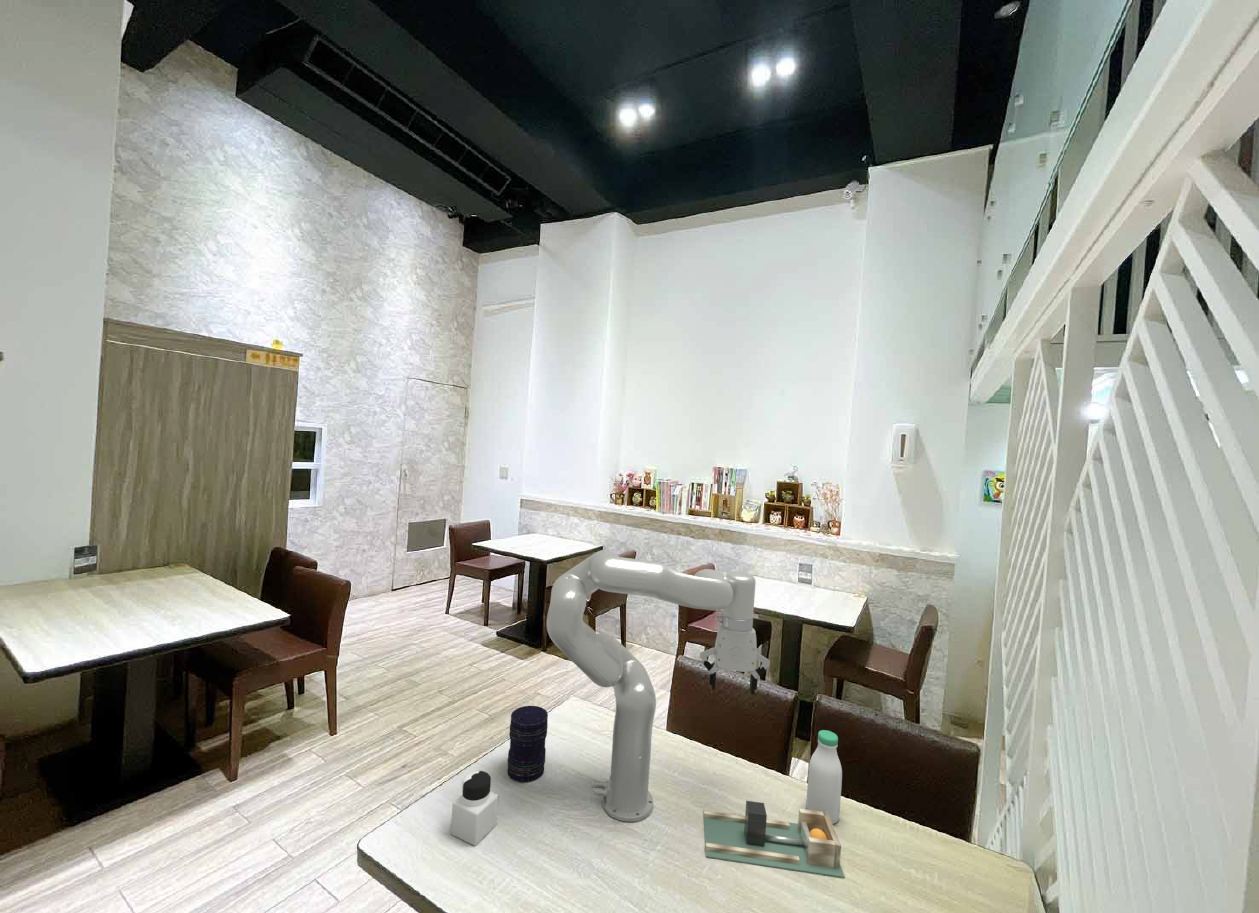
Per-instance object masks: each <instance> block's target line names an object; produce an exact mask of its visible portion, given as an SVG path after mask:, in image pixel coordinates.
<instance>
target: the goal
mask: <svg viewBox="0 0 1259 913" xmlns="http://www.w3.org/2000/svg"><path fill="white" fill-rule="evenodd" d="M798 810H799V811H798V822H797V824H798V832H799V833H800V834H801V823H802V822H806V824H807V827H808V830H809V833H810V831H811V830H812V829H815V828H817V829H820V830H822V831H823V832H824V833H825V835H826V837H827V840H825V839H818V838H811V837H809V839H808V852H807V862H808V864H811V865H817V866H824V867H831V868H838V869H839V868H840V866H841V854H842V853H841V852H842V851H841V850H842V844H841V842H840V840H839V837H838V835H837V832H836V830H835V827H834V824H832V822H831V819H830V817H829V814H828V813H827V812H820V811H813V810H806V808H805V809H803V808H799V809H798Z"/></svg>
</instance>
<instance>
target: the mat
mask: <svg viewBox="0 0 1259 913" xmlns="http://www.w3.org/2000/svg"><path fill="white" fill-rule="evenodd" d="M704 811H706V810H703V812H702V813H703V815H702V816H703V831H704V832H703V833H704V844H705V845H704V846H705V858H708V859H714V860H721V861H727V862H734V863H739V864H740V863H741V864H748V865H753V866H760V867H765V868H767V867H768V868H773V869H779V870H780V869H781V870H787V871H794V872H798V873H799V872H801V873H807V874H813V875H814V874H815V875H820V876H827V877H834V878H840V879H845V877H846V876H845V874H844V872H843V868H842V866H841V865H840V868H839V869H838V868H831V867H824V866H817V865H811V864H808V862H807V854H806V851H805V848H804V846H800V845H793V844H786V843H780V842H773V841H766V840H765V846H759V845H752V844H746V839H745V832H744V825H745V824H744V823H737V822H730V821H723V820H716V819H709V818H704ZM709 811H710V812H713V811H711V810H709ZM716 812H717V811H716ZM717 813H720V812H717ZM723 813H724V812H723ZM724 814H727V813H726V812H725V813H724ZM730 814H731V813H730ZM731 815H734V814H733V813H732V814H731ZM737 815H738V816H741V815H739V814H737ZM767 820H770V819H769V818H768V819H767ZM773 820H774V819H773ZM774 821H777V820H776V819H775V820H774ZM781 822H784V821H781ZM787 822H788V823H789V825H790V829H789V830H787V829H780V828H772V827H766V833H765V834H769V835H776V836H783V837H790V838H797V839H802V838H801V834H800V833H799V832H798V822H797V823H796V822H789V821H787ZM706 843H712V844H718V845H725V846H732V847H739V848H746V849H752V850H759V851H766V852H773V853H779V854H786V855H793V856H799V860H800V862H799V864H792V863H785V862H778V861H772V860H765V859H758V858H752V857H745V856H738V855H732V854H725V853H718V852H711V851H706Z"/></svg>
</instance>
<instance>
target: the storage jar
mask: <svg viewBox="0 0 1259 913" xmlns="http://www.w3.org/2000/svg"><path fill="white" fill-rule="evenodd" d="M548 718H549V713H548V711H547V710H546V709H545V708H543V707H541V706H537V705H523V706H520V707H517V708H516V709H514V710H512V712H511V714H510V723H509V734H508V735H509V749H508V754H507V776H508V778H509V779H510V780H512V781H513V782H517V783H521V784H524V783H525V784H526V783H533V782H535V781H537V780H539V779H540V778H541V777H542V776H543V775H544V773H545V764H546V757H547V756H546V754H547V752H546V738H547V735H548V727H549V726H548V724H549V723H548Z"/></svg>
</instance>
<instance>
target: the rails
mask: <svg viewBox="0 0 1259 913" xmlns="http://www.w3.org/2000/svg"><path fill="white" fill-rule="evenodd" d="M710 811H711V810H705V811H704V816H703V819H704V818H709V819H716V820H723V821H730V822H737V823H744V824H745V815H740V816H738V815H739V814H733V815H731V813H726V814H724V812H719V813H717V811H712V812H710ZM788 822H789V821H783V822H781V821H780V820H776V821H774V819H769V820H767V819H766V827H772V828H780V829H787V830H789V829H790V825H789V823H788ZM706 851H711V852H718V853H725V854H732V855H738V856H745V857H752V858H758V859H765V860H772V861H778V862H785V863H792V864H799V862H800V860H799V856H793V855H786V854H779V853H773V852H766V851H759V850H752V849H746V848H739V847H732V846H725V845H718V844H712V843H706V850H705V852H706Z"/></svg>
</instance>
